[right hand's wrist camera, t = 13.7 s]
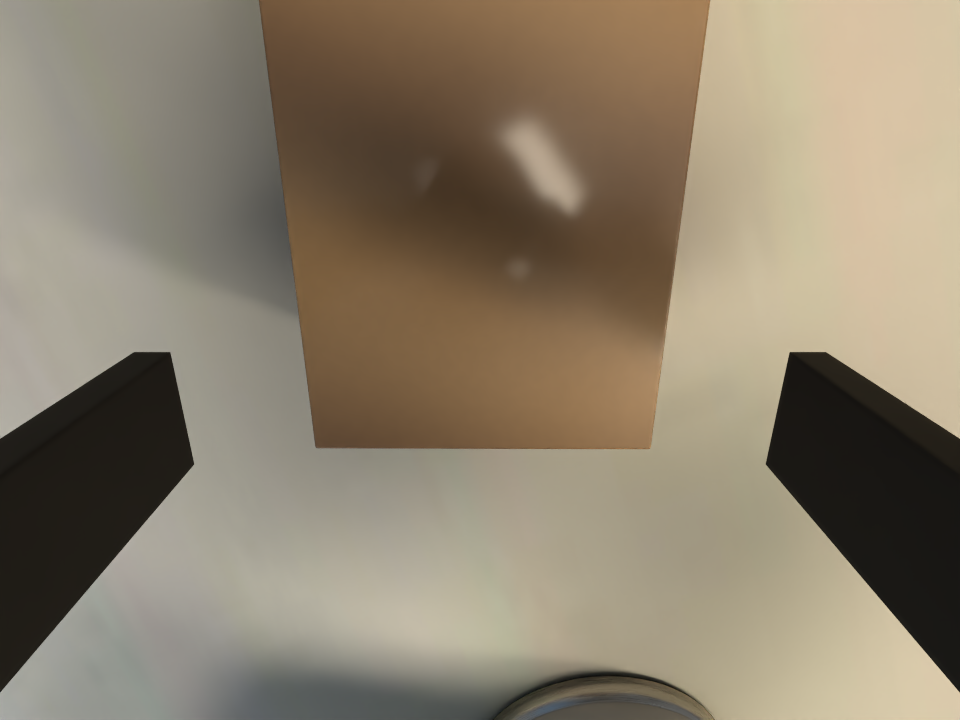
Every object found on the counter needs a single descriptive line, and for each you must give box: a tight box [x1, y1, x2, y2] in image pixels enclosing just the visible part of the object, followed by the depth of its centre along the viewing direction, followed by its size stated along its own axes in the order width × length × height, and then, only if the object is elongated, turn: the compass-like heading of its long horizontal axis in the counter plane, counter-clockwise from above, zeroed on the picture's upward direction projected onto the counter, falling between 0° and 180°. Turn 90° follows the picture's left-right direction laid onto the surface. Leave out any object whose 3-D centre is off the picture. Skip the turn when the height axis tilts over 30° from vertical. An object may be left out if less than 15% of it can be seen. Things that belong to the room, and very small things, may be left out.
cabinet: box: [259, 0, 710, 449], centre depth 18 cm, size 18×10×8 cm, turn 0°
